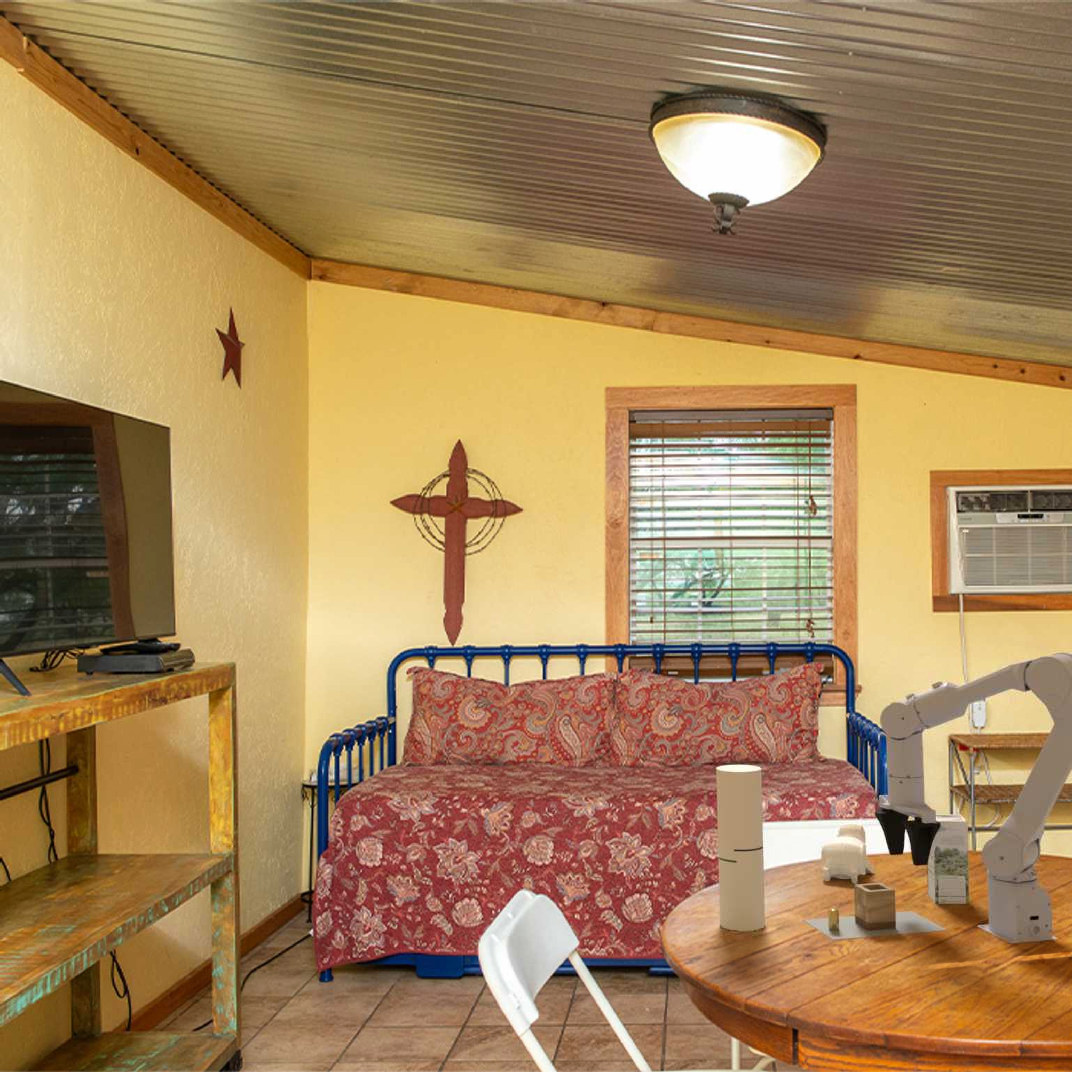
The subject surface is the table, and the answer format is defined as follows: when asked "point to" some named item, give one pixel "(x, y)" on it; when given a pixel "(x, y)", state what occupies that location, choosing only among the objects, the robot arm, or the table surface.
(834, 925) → the brass pin
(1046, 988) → the table surface
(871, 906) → the sleeve
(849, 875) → the white animal figurine
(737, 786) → the cylindrical container
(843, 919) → the board
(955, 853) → the syrup box
